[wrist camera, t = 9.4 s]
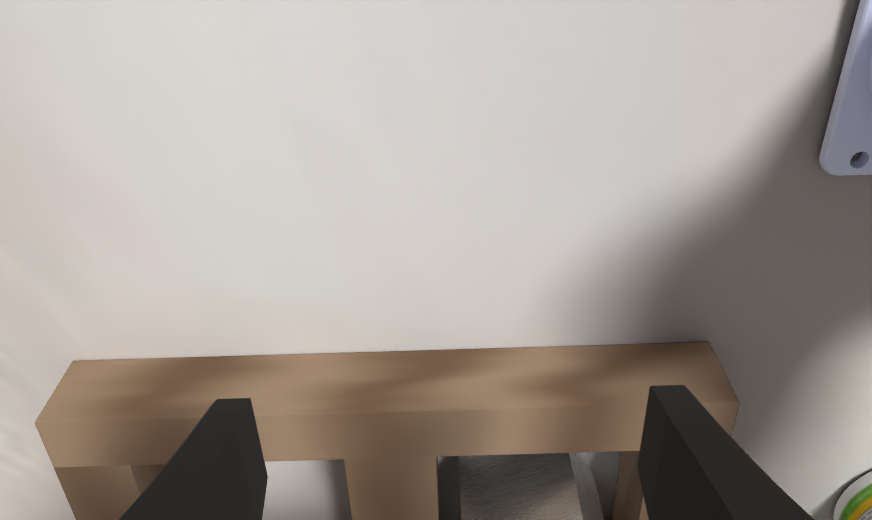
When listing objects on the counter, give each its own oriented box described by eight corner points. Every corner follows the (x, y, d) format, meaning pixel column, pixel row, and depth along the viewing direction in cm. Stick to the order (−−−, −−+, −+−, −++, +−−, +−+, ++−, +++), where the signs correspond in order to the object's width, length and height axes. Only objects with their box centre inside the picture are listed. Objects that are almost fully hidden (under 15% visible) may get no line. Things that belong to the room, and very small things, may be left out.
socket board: (709, 341, 26) (744, 411, 23) (666, 547, 32) (690, 623, 29) (72, 360, 26) (28, 432, 23) (147, 561, 32) (119, 638, 29)
